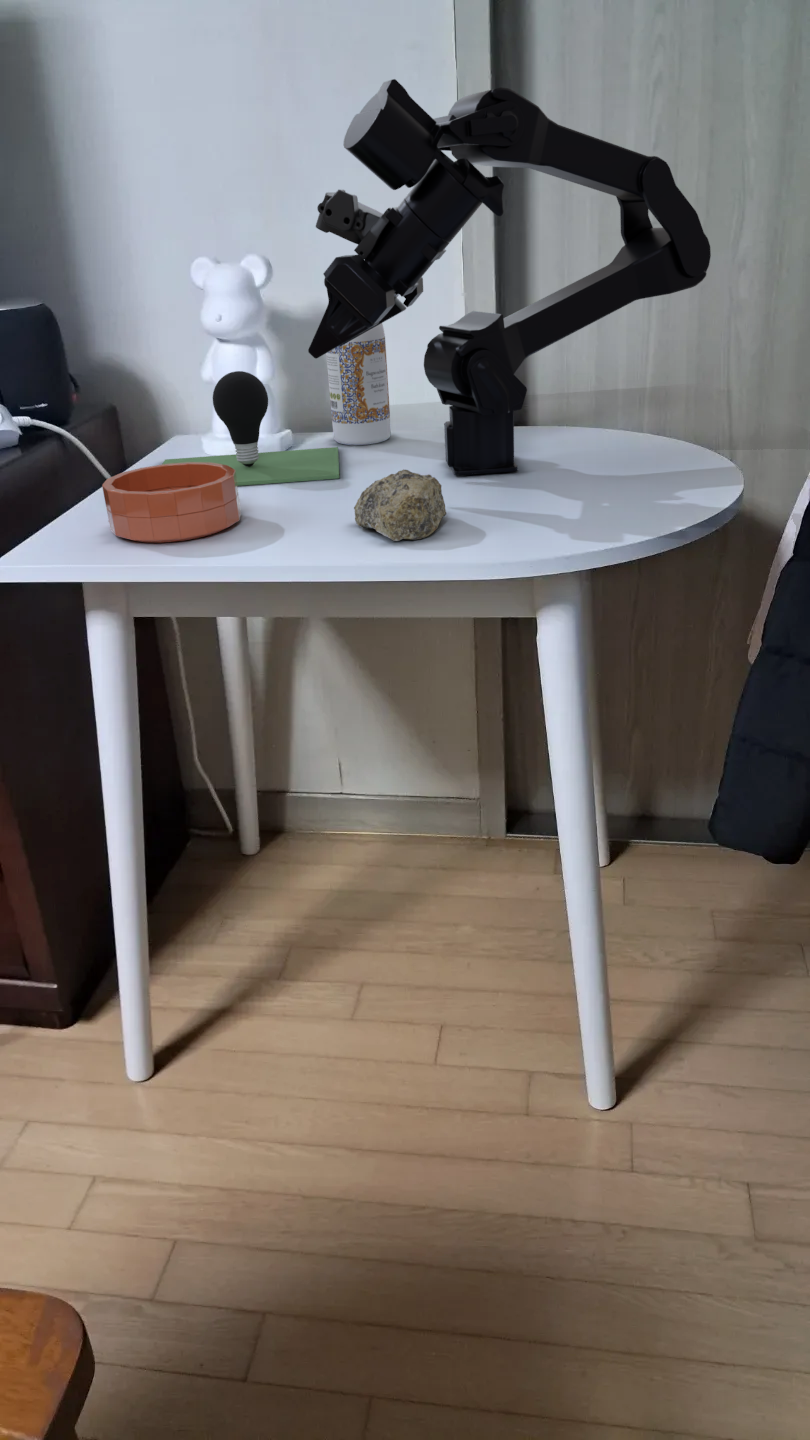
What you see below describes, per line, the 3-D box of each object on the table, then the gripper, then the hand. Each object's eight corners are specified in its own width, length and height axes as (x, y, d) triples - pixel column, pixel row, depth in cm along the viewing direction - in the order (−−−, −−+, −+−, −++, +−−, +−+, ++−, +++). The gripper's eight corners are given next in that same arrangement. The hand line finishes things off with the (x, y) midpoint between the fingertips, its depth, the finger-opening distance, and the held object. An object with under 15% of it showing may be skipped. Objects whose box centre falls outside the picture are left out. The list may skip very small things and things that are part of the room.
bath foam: (360, 448, 120) (346, 260, 111) (322, 442, 124) (305, 261, 116) (403, 437, 124) (392, 256, 115) (364, 431, 129) (351, 256, 120)
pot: (245, 505, 100) (239, 458, 98) (235, 539, 89) (228, 488, 87) (124, 514, 99) (116, 467, 97) (101, 549, 89) (91, 498, 87)
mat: (338, 450, 120) (337, 446, 120) (339, 478, 107) (339, 474, 107) (165, 462, 119) (165, 459, 119) (146, 492, 107) (145, 488, 106)
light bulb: (225, 475, 110) (212, 377, 105) (218, 464, 115) (205, 370, 110) (280, 468, 111) (269, 372, 107) (270, 458, 116) (259, 365, 112)
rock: (468, 531, 88) (466, 478, 85) (383, 547, 85) (379, 492, 83) (431, 512, 93) (429, 462, 91) (351, 527, 91) (347, 475, 89)
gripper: (385, 158, 103) (292, 282, 110) (337, 152, 87) (231, 298, 94) (465, 240, 105) (368, 357, 112) (433, 250, 89) (322, 386, 96)
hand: (324, 348), depth 104 cm, fingers open, 9 cm apart
